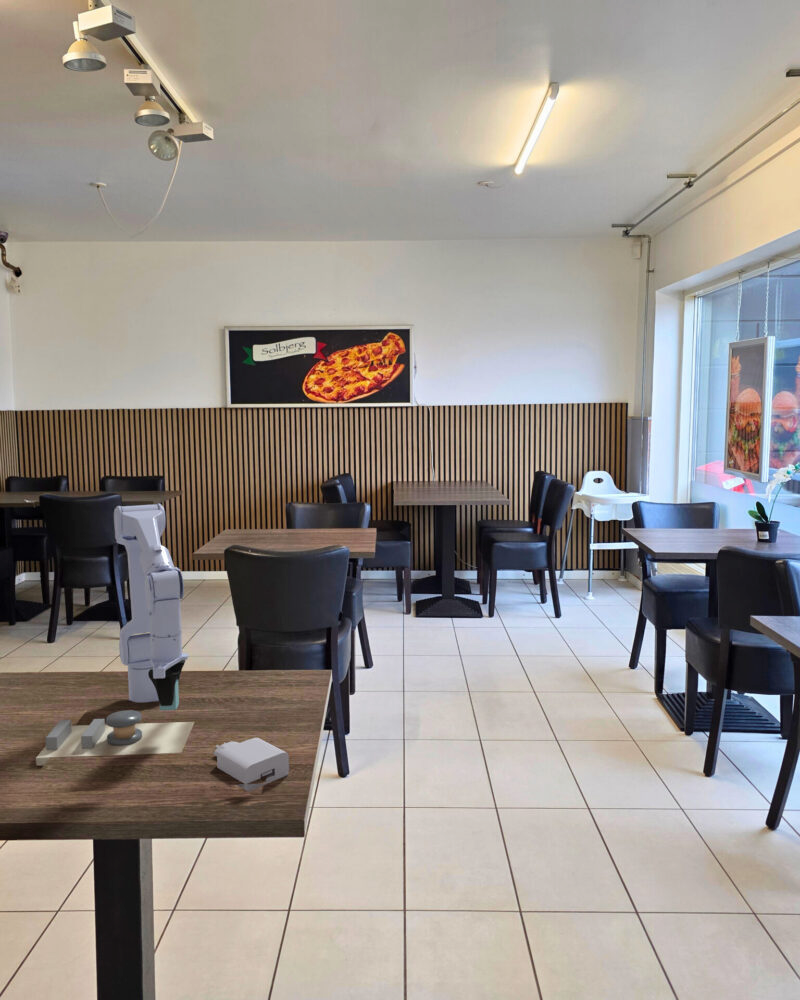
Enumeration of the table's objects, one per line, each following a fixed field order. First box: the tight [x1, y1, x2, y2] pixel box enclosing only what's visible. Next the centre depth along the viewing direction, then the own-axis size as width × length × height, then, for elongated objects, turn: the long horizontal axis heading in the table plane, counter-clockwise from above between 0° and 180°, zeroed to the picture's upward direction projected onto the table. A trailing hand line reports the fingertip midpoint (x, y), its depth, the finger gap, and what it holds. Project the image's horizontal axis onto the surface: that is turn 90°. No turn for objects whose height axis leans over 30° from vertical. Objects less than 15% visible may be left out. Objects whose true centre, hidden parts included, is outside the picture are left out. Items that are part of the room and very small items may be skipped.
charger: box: [213, 737, 290, 792], centre depth 141 cm, size 5×9×15 cm
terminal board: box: [35, 721, 195, 766], centre depth 150 cm, size 26×14×2 cm, turn 95°
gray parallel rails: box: [45, 718, 106, 750], centre depth 150 cm, size 8×8×2 cm
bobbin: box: [105, 709, 142, 746], centre depth 150 cm, size 6×6×4 cm
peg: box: [159, 679, 180, 711], centre depth 150 cm, size 3×3×5 cm
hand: (168, 701), depth 150 cm, fingers closed on peg, 3 cm apart
